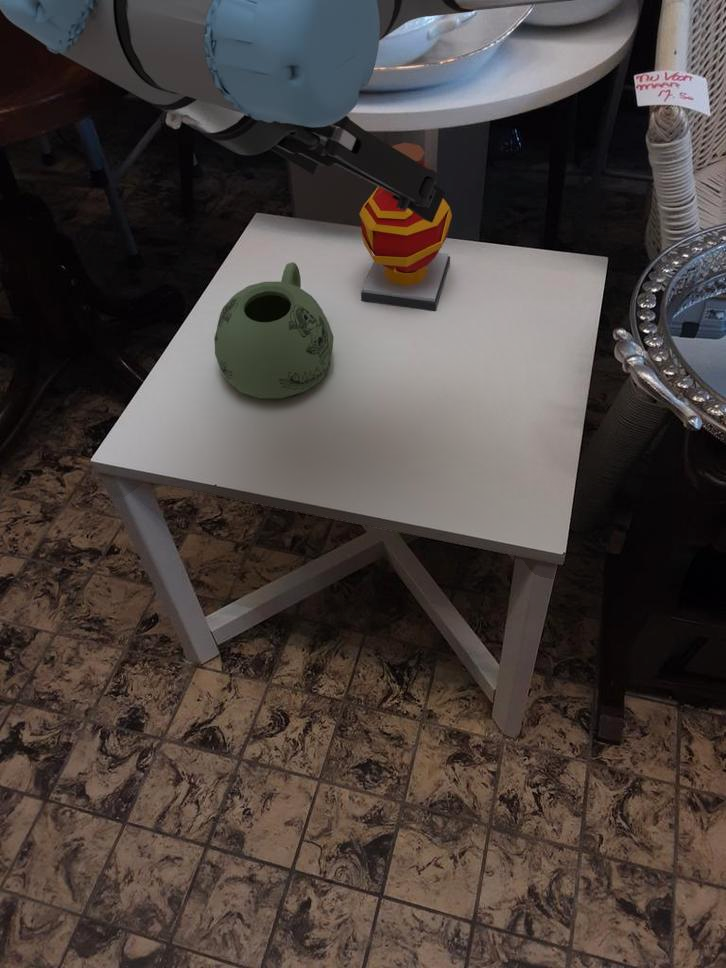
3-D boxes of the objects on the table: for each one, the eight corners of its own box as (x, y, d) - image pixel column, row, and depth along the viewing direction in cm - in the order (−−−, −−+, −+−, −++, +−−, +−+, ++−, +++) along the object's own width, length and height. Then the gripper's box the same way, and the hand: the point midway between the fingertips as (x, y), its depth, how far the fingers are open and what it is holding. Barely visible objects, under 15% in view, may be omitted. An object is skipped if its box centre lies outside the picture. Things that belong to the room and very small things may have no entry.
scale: (449, 263, 95) (450, 252, 94) (435, 310, 90) (436, 300, 89) (379, 255, 97) (378, 244, 96) (361, 300, 92) (360, 290, 91)
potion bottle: (451, 298, 89) (458, 178, 77) (362, 300, 89) (355, 182, 77) (446, 243, 95) (452, 124, 83) (362, 245, 96) (356, 128, 84)
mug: (318, 416, 81) (310, 355, 74) (203, 398, 83) (185, 338, 76) (354, 316, 90) (350, 253, 83) (250, 303, 92) (237, 241, 86)
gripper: (85, 86, 57) (257, 179, 75) (348, 194, 47) (471, 271, 65) (119, -20, 55) (286, 102, 74) (400, 68, 45) (511, 184, 63)
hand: (373, 182), depth 70 cm, fingers open, 13 cm apart
